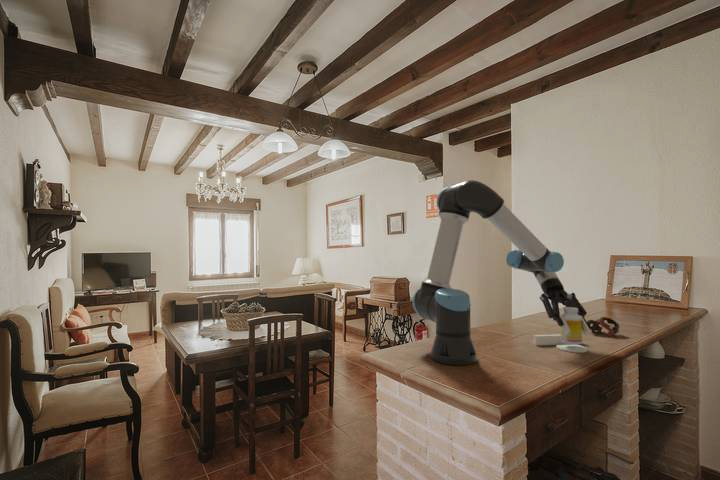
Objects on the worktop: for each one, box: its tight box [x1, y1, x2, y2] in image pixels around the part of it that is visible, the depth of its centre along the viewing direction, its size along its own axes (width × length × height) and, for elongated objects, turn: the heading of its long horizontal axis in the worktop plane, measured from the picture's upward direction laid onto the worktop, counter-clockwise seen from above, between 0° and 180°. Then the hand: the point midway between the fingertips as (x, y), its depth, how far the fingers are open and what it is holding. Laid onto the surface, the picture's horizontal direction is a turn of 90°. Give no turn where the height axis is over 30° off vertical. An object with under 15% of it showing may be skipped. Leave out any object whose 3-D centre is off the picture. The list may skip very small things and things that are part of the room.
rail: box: [532, 333, 584, 346], centre depth 140 cm, size 19×2×4 cm, turn 94°
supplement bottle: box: [560, 306, 583, 345], centre depth 134 cm, size 7×7×13 cm
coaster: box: [555, 343, 589, 354], centre depth 133 cm, size 10×10×1 cm
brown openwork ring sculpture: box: [586, 316, 620, 338], centre depth 154 cm, size 12×10×8 cm
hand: (577, 332), depth 130 cm, fingers closed on supplement bottle, 7 cm apart
